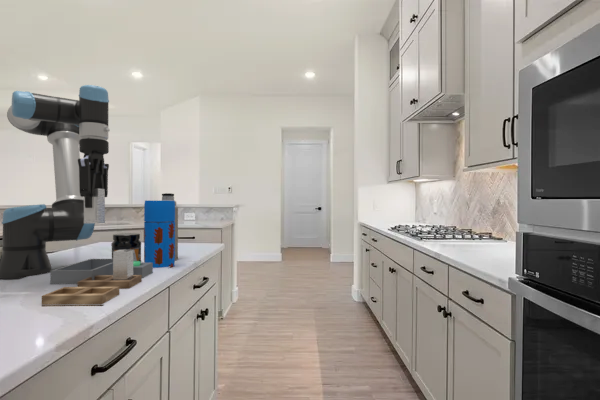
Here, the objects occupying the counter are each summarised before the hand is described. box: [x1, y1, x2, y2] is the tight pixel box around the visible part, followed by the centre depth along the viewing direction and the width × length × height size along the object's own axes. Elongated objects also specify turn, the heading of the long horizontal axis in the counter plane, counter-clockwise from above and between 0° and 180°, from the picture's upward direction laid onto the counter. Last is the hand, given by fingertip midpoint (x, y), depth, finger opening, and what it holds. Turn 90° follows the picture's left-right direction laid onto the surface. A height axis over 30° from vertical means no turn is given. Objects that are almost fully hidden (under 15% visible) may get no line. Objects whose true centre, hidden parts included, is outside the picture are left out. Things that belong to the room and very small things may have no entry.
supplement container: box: [110, 232, 142, 263], centre depth 142 cm, size 10×10×12 cm
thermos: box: [143, 200, 176, 269], centre depth 139 cm, size 11×11×25 cm
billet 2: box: [113, 249, 133, 280], centre depth 107 cm, size 4×4×10 cm
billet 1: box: [84, 188, 106, 224], centre depth 108 cm, size 4×4×10 cm
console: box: [133, 262, 154, 279], centre depth 120 cm, size 9×9×4 cm
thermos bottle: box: [160, 192, 179, 261], centre depth 155 cm, size 8×8×28 cm
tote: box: [49, 258, 113, 285], centre depth 118 cm, size 12×22×4 cm, turn 2°
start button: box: [133, 261, 140, 266], centre depth 120 cm, size 4×4×3 cm
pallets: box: [41, 275, 143, 307], centre depth 99 cm, size 14×24×2 cm, turn 2°
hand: (94, 219), depth 108 cm, fingers closed on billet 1, 4 cm apart
